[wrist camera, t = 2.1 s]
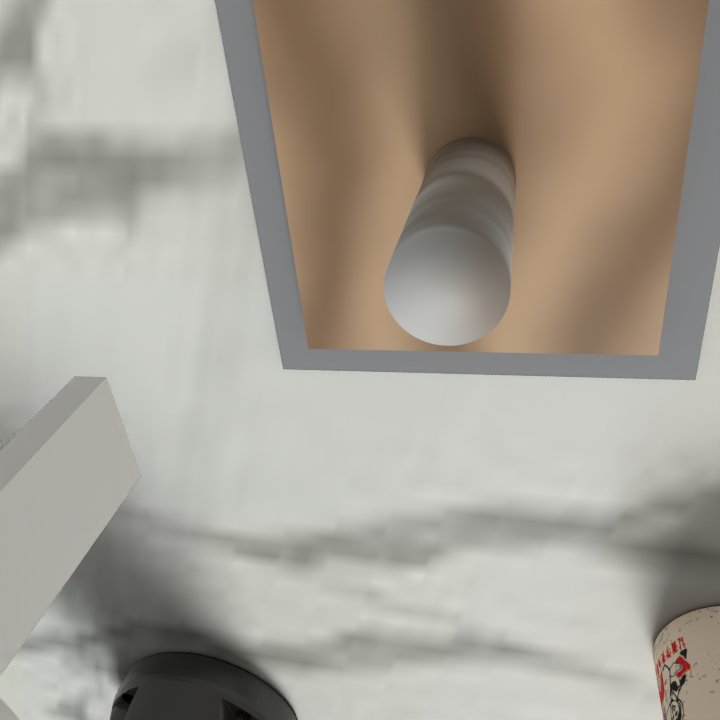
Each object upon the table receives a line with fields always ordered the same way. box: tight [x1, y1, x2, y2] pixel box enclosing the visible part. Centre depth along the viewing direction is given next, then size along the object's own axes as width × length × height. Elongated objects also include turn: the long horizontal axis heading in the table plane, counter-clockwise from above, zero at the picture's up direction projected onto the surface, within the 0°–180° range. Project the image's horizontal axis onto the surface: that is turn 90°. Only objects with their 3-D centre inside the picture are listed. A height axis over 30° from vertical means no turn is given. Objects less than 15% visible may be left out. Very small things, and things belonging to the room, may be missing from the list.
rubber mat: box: [215, 0, 720, 380], centre depth 29 cm, size 20×20×1 cm
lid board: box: [253, 0, 709, 356], centre depth 24 cm, size 16×16×11 cm
